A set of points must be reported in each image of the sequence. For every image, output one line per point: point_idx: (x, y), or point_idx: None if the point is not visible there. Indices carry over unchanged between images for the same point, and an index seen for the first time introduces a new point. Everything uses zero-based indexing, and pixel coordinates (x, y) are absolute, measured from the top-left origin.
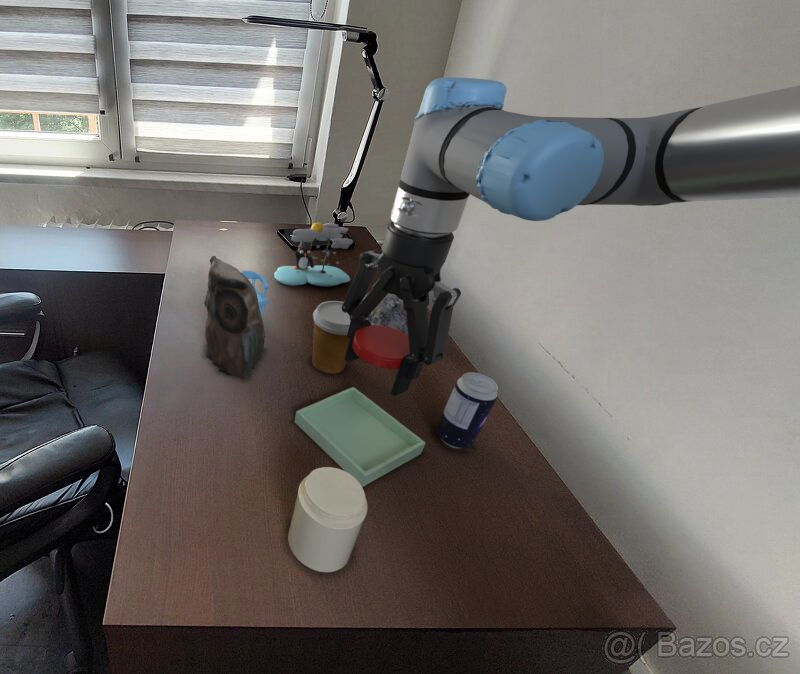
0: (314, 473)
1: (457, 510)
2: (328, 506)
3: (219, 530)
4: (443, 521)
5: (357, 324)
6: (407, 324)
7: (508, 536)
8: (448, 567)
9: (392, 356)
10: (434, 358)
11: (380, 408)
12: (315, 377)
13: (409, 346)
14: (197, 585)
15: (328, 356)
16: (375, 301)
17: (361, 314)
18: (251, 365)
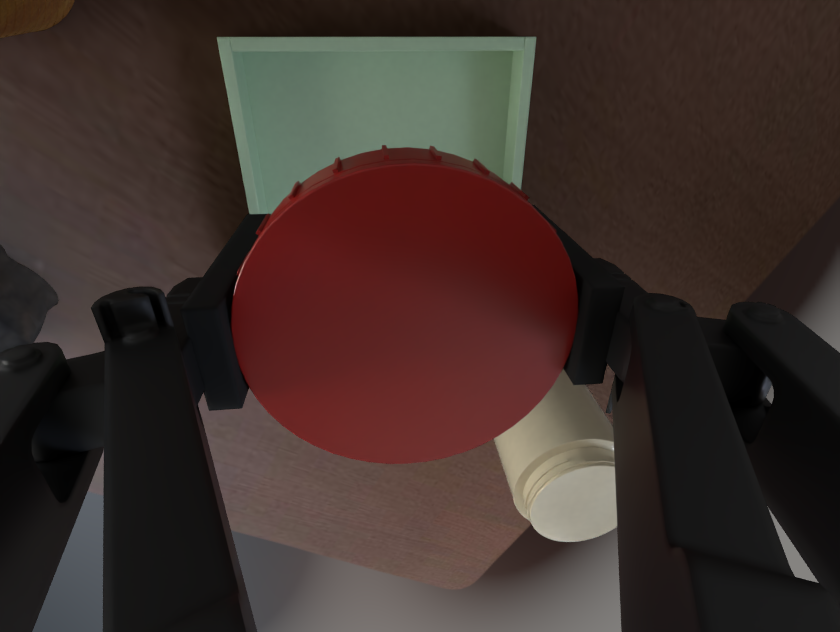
0: (535, 514)
1: (666, 120)
2: (598, 527)
3: (434, 493)
4: (655, 176)
5: (219, 396)
6: (619, 544)
7: (772, 74)
8: (698, 250)
9: (525, 398)
10: (770, 403)
11: (354, 41)
12: (88, 76)
13: (614, 424)
14: (482, 532)
15: (19, 23)
16: (234, 553)
17: (213, 464)
18: (24, 307)
